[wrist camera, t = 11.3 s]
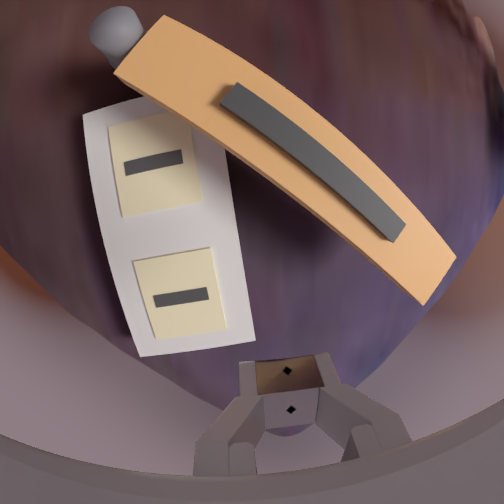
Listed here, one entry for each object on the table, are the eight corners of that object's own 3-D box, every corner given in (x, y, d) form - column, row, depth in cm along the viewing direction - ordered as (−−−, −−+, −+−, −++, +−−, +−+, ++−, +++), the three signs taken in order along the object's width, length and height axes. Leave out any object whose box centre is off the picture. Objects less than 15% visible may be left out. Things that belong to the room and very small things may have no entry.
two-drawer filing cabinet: (95, 79, 23) (60, 55, 16) (208, 52, 24) (207, 14, 16) (147, 337, 31) (131, 381, 24) (251, 321, 32) (261, 365, 24)
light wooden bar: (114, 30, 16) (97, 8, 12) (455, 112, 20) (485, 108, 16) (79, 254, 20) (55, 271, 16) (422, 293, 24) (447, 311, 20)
